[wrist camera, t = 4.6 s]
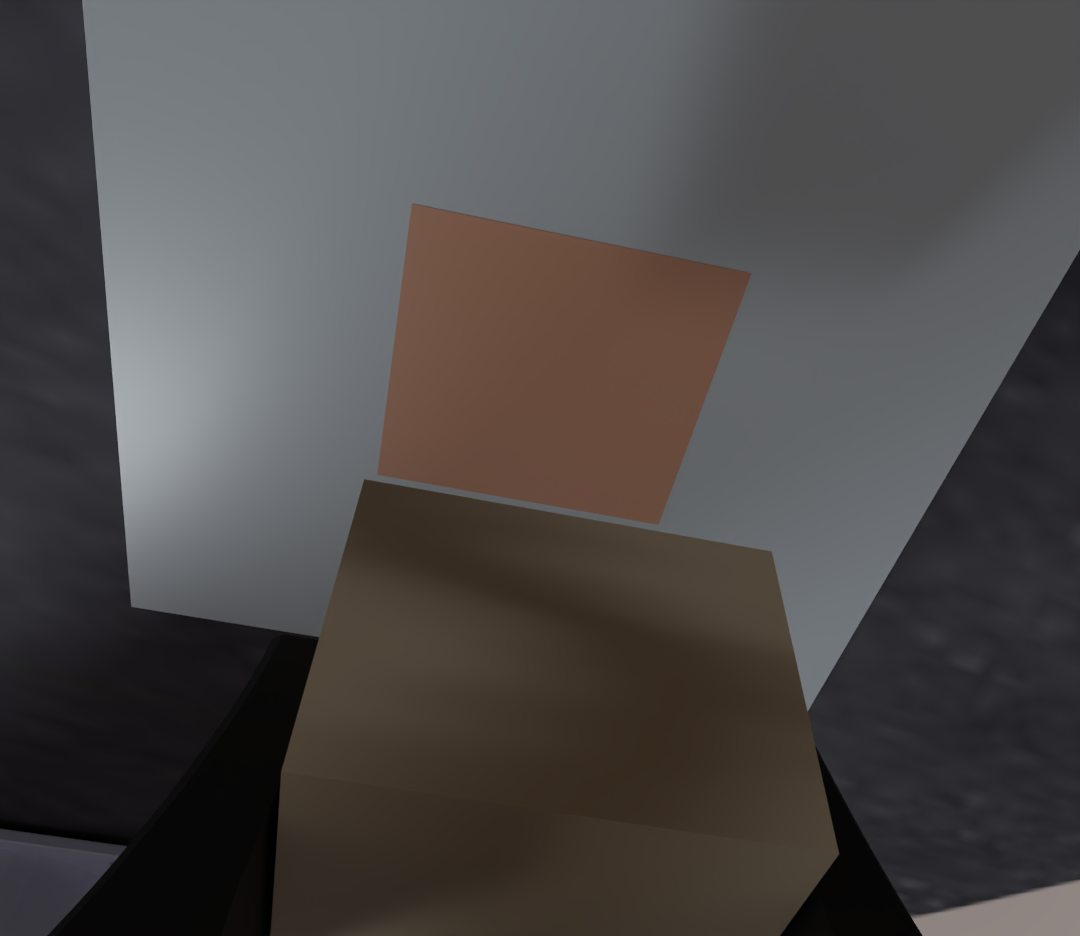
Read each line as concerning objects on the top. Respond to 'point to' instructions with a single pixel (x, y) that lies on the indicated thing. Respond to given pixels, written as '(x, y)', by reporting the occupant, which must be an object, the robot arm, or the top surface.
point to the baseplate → (567, 272)
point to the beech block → (547, 734)
